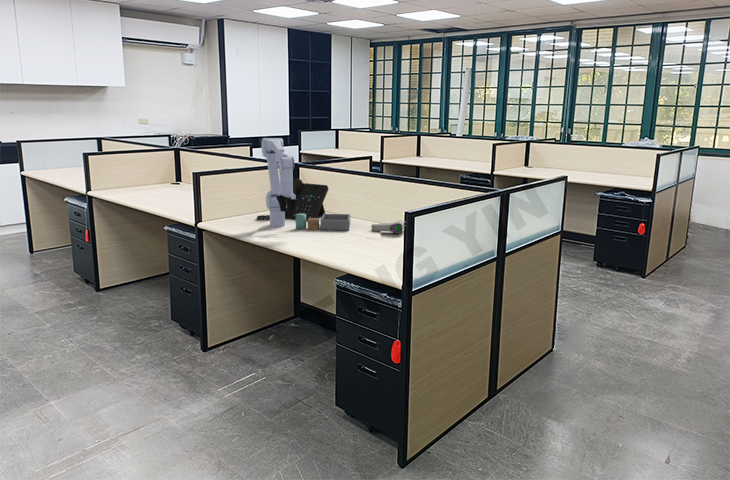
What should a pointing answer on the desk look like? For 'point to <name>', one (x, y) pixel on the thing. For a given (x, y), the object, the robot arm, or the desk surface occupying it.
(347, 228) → the charcoal tote
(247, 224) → the desk surface
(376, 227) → the infrared thermometer
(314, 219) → the walnut cube
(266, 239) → the desk surface
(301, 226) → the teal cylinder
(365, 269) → the desk surface
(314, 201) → the office phone
